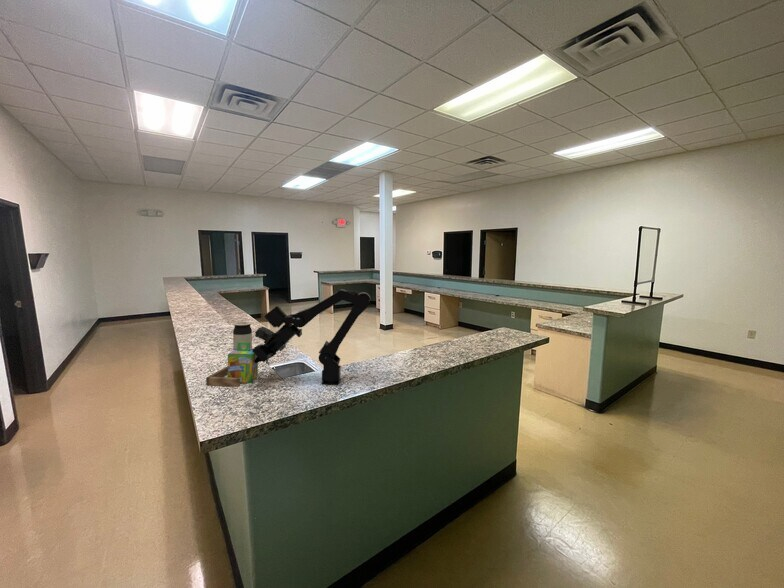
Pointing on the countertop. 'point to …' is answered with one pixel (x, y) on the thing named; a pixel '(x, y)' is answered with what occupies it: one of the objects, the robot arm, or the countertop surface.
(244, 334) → the travel mug
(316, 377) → the countertop surface
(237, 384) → the block
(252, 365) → the chalk box
